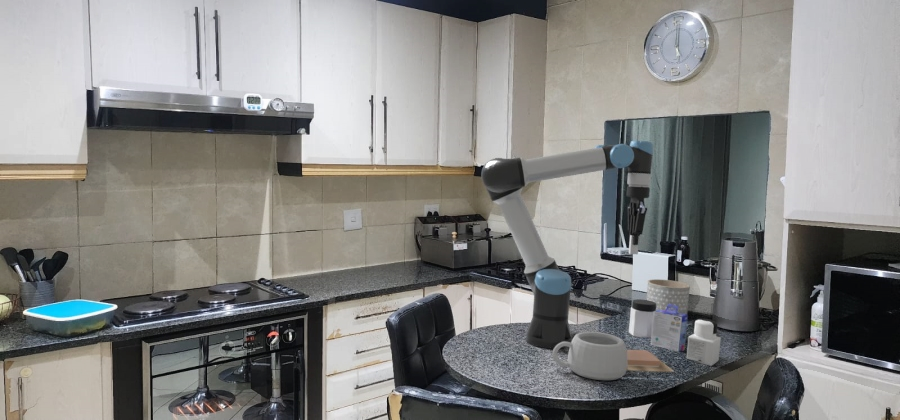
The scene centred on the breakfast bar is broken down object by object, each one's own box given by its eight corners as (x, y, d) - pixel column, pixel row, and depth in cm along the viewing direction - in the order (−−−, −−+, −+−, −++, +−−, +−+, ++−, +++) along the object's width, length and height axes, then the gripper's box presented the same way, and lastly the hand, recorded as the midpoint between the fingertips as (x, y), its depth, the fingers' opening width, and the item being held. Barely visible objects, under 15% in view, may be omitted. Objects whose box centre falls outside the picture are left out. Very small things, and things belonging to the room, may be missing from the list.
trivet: (621, 372, 176) (621, 370, 176) (601, 352, 194) (601, 350, 194) (674, 373, 177) (674, 371, 177) (649, 353, 195) (650, 352, 195)
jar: (642, 339, 211) (645, 305, 210) (624, 333, 218) (627, 300, 217) (659, 336, 216) (662, 303, 215) (640, 330, 223) (643, 298, 222)
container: (693, 355, 197) (697, 315, 196) (718, 361, 192) (722, 320, 191) (685, 360, 191) (689, 319, 190) (711, 366, 186) (715, 325, 185)
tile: (614, 354, 190) (626, 365, 180) (615, 349, 190) (627, 359, 180) (646, 355, 190) (659, 366, 180) (646, 350, 190) (659, 360, 180)
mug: (616, 363, 183) (619, 331, 182) (634, 384, 166) (637, 348, 165) (546, 360, 182) (548, 328, 181) (557, 381, 165) (559, 345, 164)
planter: (689, 320, 243) (692, 289, 242) (646, 315, 247) (649, 284, 246) (684, 311, 259) (687, 282, 258) (644, 306, 263) (646, 277, 262)
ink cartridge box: (685, 350, 201) (689, 307, 200) (679, 353, 197) (683, 310, 196) (656, 343, 208) (660, 301, 207) (649, 346, 204) (653, 303, 202)
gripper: (656, 187, 203) (650, 257, 204) (642, 185, 215) (636, 251, 217) (634, 186, 202) (629, 256, 204) (621, 184, 215) (616, 250, 217)
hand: (633, 253), depth 211 cm, fingers closed
